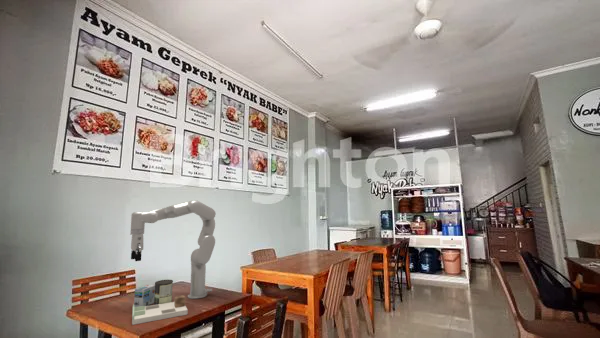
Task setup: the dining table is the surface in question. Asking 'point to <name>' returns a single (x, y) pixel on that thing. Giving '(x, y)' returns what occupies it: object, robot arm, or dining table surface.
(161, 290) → the coffee can
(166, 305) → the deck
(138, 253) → the robot arm
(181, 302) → the walnut block
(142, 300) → the light bulb box
